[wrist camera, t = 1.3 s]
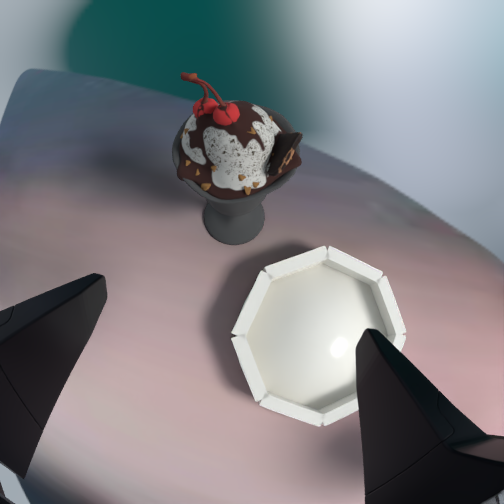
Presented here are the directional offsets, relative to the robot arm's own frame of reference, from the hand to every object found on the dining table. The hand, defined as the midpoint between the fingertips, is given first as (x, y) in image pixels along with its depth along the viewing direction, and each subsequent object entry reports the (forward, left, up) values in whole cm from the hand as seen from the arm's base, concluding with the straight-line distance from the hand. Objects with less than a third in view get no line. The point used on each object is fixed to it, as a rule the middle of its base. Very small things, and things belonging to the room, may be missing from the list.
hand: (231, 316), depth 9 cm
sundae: (+3, +8, -13) cm, 16 cm away
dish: (+6, -3, -13) cm, 15 cm away
